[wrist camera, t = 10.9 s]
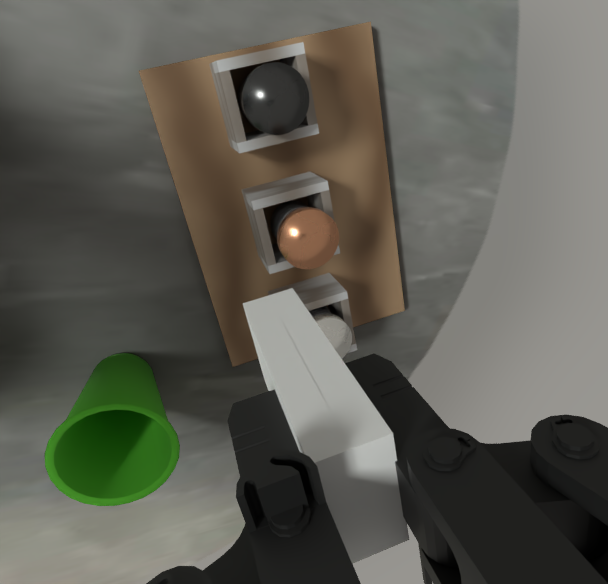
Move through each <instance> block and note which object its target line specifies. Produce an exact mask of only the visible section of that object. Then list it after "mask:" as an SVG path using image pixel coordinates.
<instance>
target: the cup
mask: <svg viewBox="0 0 608 584" xmlns="http://www.w3.org/2000/svg"><path fill="white" fill-rule="evenodd" d="M179 449H180V445H179V441H178V436H177V433H176V432H175V430H174V429H173V427H172V425H171V424H170V423H169V422H168V419H167V416H166V413H165V410H164V407H163V403H162V400H161V397H160V394H159V391H158V387H157V384H156V381H155V378H154V375H153V371H152V369H151V367H150V366H149V364H148V363H147V362H146V361H145V360H143V359H142V358H140V357H138V356H136V355H133V354H128V353H120V354H115V355H112V356H109V357H107V358H106V359H104V360H102V361H101V362H100V363H99V364H98V365H97V366H96V368H95V369H94V371H93V373H92V374H91V376H90V378H89V380H88V382H87V383H86V385H85V387H84V389H83V390H82V392H81V394H80V396H79V398H78V399H77V401H76V403H75V405H74V406H73V408H72V410H71V412H70V414H69V415H68V417H67V419H66V420H65V421H64V422H63V423H62V424H61V425H60V426H59V427H58V428H57V429H56V430H55V432H54V433H53V435H52V436H51V438H50V439H49V441H48V444H47V448H46V451H45V467H46V470H47V472H48V475H49V477H50V479H51V481H52V482H53V483H54V484H55V486H56V487H57V488H58V489H59V490H60V491H61V492H63V493H64V494H65V495H67V496H68V497H70V498H72V499H74V500H77V501H79V502H82V503H85V504H91V505H97V506H115V505H120V504H126V503H130V502H133V501H136V500H138V499H141V498H144V497H145V496H147V495H149V494H150V493H152V492H154V491H155V490H157V489H158V488H159V487H160V486H161V485H162V484H163V483H164V482H166V480H167V479H168V477H169V476H170V475H171V473H172V472H173V470H174V469H175V466H176V464H177V461H178V458H179Z"/></svg>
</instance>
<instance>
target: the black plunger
mask: <svg viewBox="0 0 608 584" xmlns="http://www.w3.org/2000/svg"><path fill="white" fill-rule="evenodd" d="M238 104H239V107H240V109H241V111H242V113H243V114H244V115H245V116H246V118H247V119H248V121H249V122H250V123H251V124H252V125H253V126H254V127H255V128H257V129H258V130H260V131H262V132H265V133H267V134H271V135H283V134H286V133H289V132H291V131H293V130H294V129H296V128H297V127H298V126H299V125H300V124H301V123H302V121H303V120H304V118H305V116H306V114H307V111H308V108H309V91H308V87H307V84H306V82H305V80H304V79H303V77H302V76H301V74H300V73H299V72H298V71H297V70H296V69H294V68H293V67H291V66H289V65H287V64H284V63H279V62H273V63H267V64H264V65H261V66H259V67H257V68H256V69H254V70H253V71H252V72H251V73H250V74H249V75H248V76H247V77H246V78H245V79H244V80H243V81H242V83H241V85H240V87H239V90H238Z"/></svg>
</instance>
